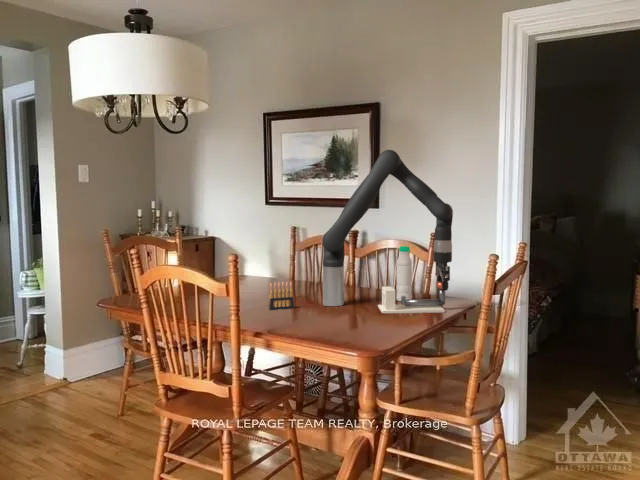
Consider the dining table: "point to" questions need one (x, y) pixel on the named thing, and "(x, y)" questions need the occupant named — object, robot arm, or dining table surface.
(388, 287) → the cream l-shaped stand
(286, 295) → the ammunition clip
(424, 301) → the ball knob lever
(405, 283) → the water bottle
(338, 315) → the dining table surface
